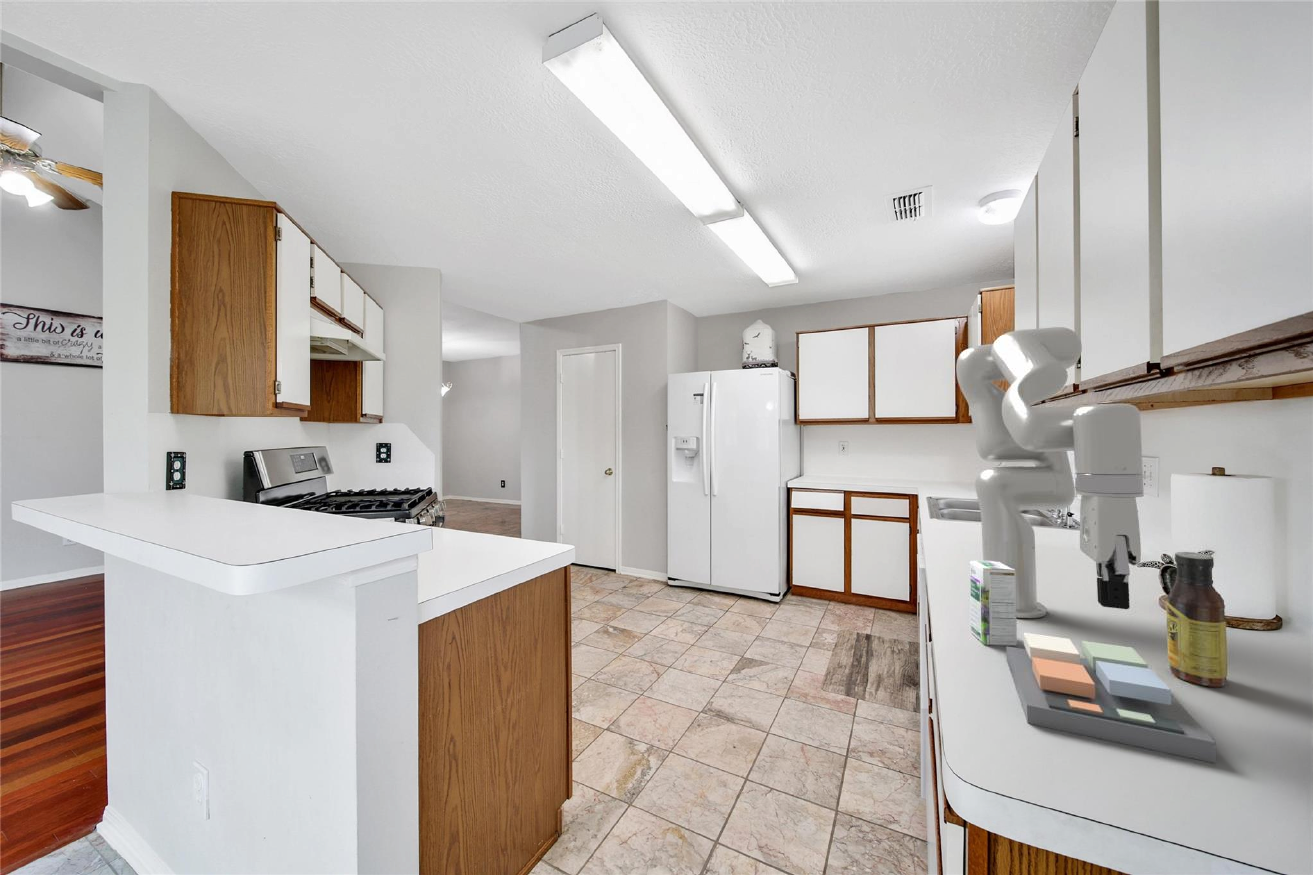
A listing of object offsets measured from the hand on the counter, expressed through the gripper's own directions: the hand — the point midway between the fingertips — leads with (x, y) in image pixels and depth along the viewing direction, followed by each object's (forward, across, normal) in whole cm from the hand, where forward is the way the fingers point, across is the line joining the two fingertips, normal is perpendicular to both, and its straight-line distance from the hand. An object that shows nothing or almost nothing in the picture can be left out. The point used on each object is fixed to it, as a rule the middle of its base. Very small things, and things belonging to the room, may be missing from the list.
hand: (1113, 606), depth 72 cm
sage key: (+9, -1, 0) cm, 9 cm away
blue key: (+9, +7, 0) cm, 12 cm away
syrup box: (+13, -14, -14) cm, 24 cm away
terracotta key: (+10, +7, -8) cm, 15 cm away
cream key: (+9, -1, -8) cm, 12 cm away
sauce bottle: (+13, -10, +12) cm, 21 cm away
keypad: (+13, +4, -4) cm, 15 cm away
